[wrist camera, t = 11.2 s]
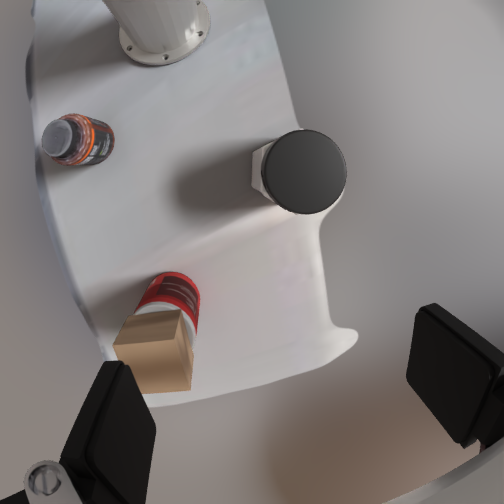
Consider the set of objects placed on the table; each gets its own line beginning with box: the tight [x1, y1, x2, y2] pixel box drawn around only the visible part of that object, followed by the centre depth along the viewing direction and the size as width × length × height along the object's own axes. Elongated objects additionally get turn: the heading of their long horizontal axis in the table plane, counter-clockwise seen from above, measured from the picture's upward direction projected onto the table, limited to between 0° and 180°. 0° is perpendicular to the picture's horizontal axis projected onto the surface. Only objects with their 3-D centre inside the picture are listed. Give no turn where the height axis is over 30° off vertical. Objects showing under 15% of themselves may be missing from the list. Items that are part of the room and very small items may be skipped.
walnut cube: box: [113, 309, 194, 394], centre depth 28 cm, size 6×6×6 cm
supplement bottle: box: [42, 114, 114, 165], centre depth 30 cm, size 6×6×11 cm
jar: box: [251, 128, 347, 215], centre depth 33 cm, size 9×8×12 cm
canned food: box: [133, 272, 200, 350], centre depth 37 cm, size 8×8×11 cm
